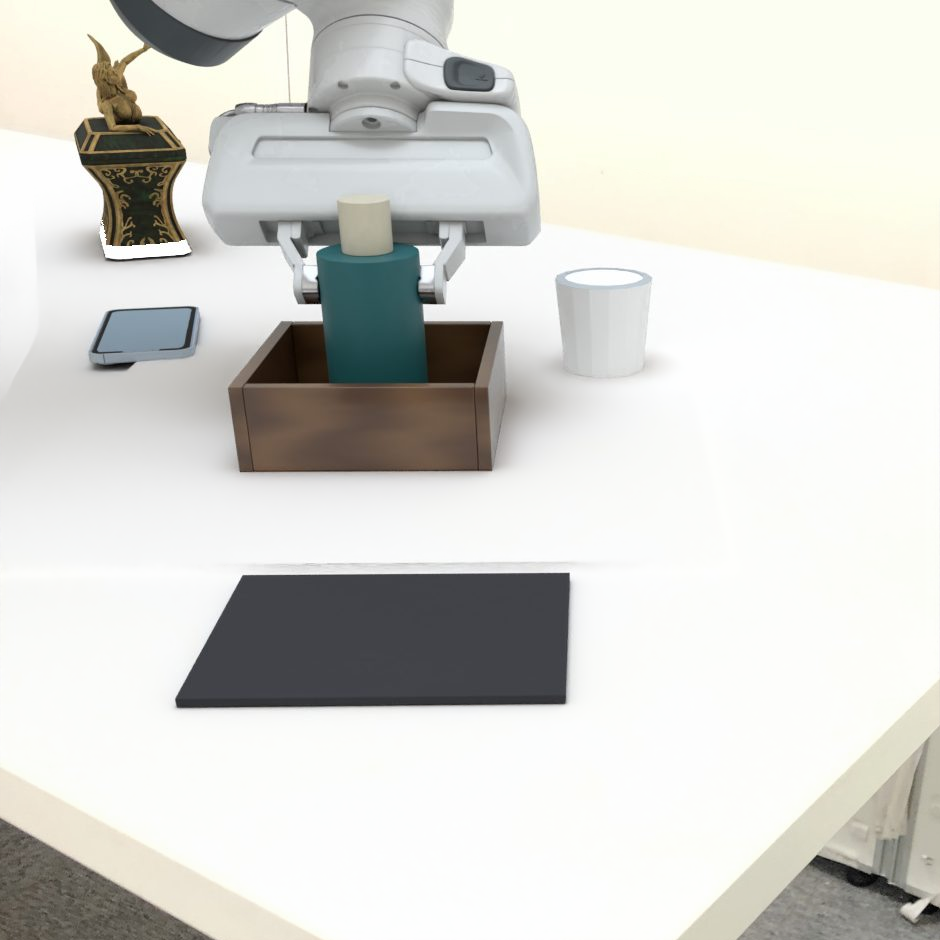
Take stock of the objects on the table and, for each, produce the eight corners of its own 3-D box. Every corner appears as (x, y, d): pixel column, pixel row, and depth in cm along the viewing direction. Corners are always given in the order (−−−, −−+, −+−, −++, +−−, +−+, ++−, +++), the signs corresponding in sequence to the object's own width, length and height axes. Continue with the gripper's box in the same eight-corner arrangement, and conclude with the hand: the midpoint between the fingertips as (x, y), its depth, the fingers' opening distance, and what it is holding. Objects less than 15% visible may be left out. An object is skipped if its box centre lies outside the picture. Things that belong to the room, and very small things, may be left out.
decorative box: (204, 258, 130) (173, 37, 121) (99, 266, 127) (59, 39, 117) (183, 222, 146) (154, 25, 137) (90, 228, 143) (54, 26, 134)
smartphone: (200, 305, 110) (193, 349, 97) (201, 316, 111) (194, 362, 98) (105, 309, 109) (86, 355, 96) (107, 321, 109) (88, 368, 96)
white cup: (668, 379, 96) (670, 281, 92) (584, 393, 93) (582, 292, 89) (622, 355, 101) (622, 262, 98) (541, 368, 98) (538, 271, 95)
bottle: (326, 446, 81) (301, 207, 74) (343, 414, 86) (320, 189, 80) (425, 445, 81) (408, 207, 75) (435, 414, 86) (420, 189, 80)
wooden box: (240, 481, 77) (227, 387, 75) (290, 403, 90) (281, 321, 88) (492, 480, 78) (488, 386, 75) (506, 402, 91) (503, 320, 88)
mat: (176, 707, 55) (174, 698, 54) (243, 581, 65) (242, 574, 65) (565, 703, 55) (565, 694, 55) (569, 579, 66) (569, 572, 66)
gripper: (197, 68, 80) (178, 269, 76) (538, 70, 81) (537, 269, 77) (226, 137, 86) (209, 327, 82) (543, 138, 87) (542, 326, 83)
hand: (370, 299), depth 79 cm, fingers closed on bottle, 6 cm apart
